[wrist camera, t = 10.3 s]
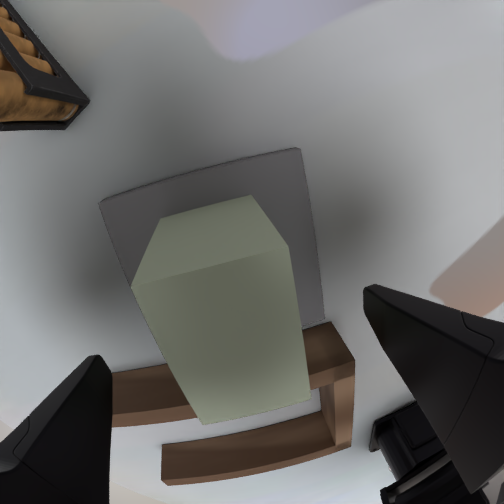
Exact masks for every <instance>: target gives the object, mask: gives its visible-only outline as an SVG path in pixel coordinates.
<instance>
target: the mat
mask: <svg viewBox="0 0 504 504" xmlns="http://www.w3.org/2000/svg"><path fill="white" fill-rule="evenodd" d="M248 195H252V196H253V198H254V199H255V200H256V202H257V203H258V204H259V206H260V207H261V209H262V210H263V211H264V213H265V214H266V216H267V217H268V218H269V220H270V221H271V222H272V224H273V225H274V227H275V228H276V229H277V231H278V232H279V234H280V235H281V237H282V238H283V239H284V241H285V242H286V244H287V245H288V247H289V253H290V259H291V264H292V270H293V276H294V282H295V289H296V295H297V301H298V308H299V314H300V320H301V326H304V325H307V324H311V323H314V322H317V321H320V320H323V319H325V314H324V304H323V295H322V286H321V278H320V270H319V262H318V254H317V247H316V240H315V233H314V226H313V219H312V213H311V206H310V200H309V194H308V188H307V182H306V176H305V171H304V165H303V160H302V154H301V149H300V148H290V149H285V150H280V151H276V152H271V153H266V154H262V155H257V156H253V157H248V158H244V159H240V160H236V161H231V162H227V163H223V164H219V165H215V166H212V167H208V168H204V169H200V170H197V171H193V172H189V173H186V174H182V175H179V176H175V177H172V178H168V179H165V180H162V181H158V182H155V183H152V184H149V185H145V186H142V187H139V188H136V189H133V190H130V191H127V192H124V193H121V194H118V195H115V196H112V197H109V198H106V199H104V200H102V201H101V202H100V203H98V204H99V207H100V210H101V213H102V216H103V219H104V222H105V224H106V227H107V230H108V233H109V235H110V238H111V241H112V243H113V246H114V249H115V251H116V254H117V256H118V259H119V261H120V264H121V266H122V269H123V271H124V273H125V276H126V278H127V281H128V283H129V285H130V287H131V284H132V282H133V279H134V277H135V275H136V272H137V270H138V267H139V265H140V263H141V260H142V258H143V256H144V254H145V251H146V249H147V247H148V245H149V242H150V240H151V238H152V236H153V234H154V231H155V229H156V227H157V225H158V223H159V221H160V219H161V218H164V217H168V216H171V215H175V214H178V213H182V212H186V211H189V210H193V209H197V208H201V207H204V206H208V205H212V204H216V203H220V202H224V201H228V200H232V199H236V198H240V197H244V196H248ZM131 290H132V289H131ZM132 292H133V291H132ZM134 297H135V296H134ZM135 299H136V298H135ZM136 301H137V300H136ZM139 308H140V307H139ZM140 310H141V309H140ZM141 312H142V311H141ZM148 327H149V326H148ZM149 329H150V328H149Z"/></svg>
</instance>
